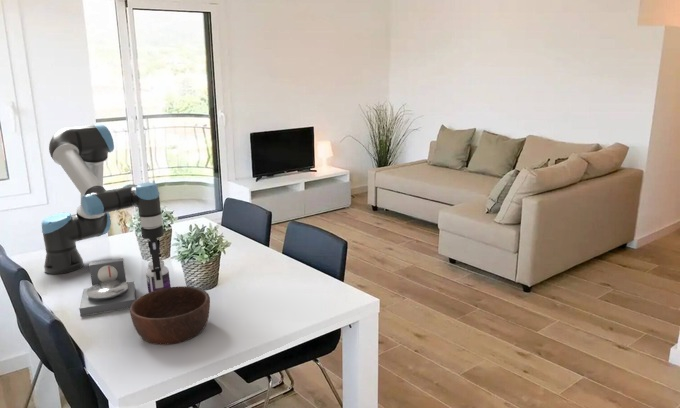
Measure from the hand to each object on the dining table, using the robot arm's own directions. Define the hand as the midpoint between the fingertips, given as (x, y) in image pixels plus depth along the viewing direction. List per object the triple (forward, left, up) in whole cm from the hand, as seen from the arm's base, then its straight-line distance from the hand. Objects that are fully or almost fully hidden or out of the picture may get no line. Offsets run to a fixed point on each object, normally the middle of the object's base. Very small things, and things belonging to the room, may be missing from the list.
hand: (158, 280), depth 199 cm
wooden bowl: (+27, +3, -8) cm, 28 cm away
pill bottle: (0, 0, -8) cm, 8 cm away
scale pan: (-5, -18, -4) cm, 19 cm away
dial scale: (-7, -18, -7) cm, 21 cm away
